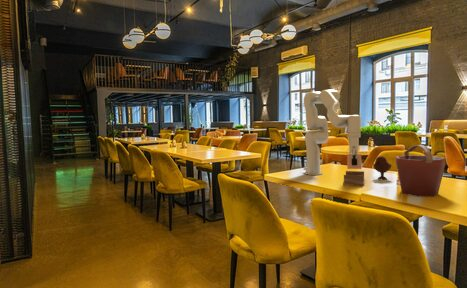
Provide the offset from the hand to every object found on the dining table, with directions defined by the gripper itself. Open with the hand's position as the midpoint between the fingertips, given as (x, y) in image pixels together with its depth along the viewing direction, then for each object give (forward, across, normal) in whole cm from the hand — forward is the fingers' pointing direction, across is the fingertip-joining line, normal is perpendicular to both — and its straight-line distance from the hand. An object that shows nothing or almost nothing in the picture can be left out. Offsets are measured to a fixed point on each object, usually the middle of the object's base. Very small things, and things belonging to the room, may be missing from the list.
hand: (354, 164), depth 200 cm
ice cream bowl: (+12, -19, +16) cm, 27 cm away
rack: (+11, 0, 0) cm, 11 cm away
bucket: (+12, +20, +33) cm, 40 cm away
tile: (+3, 0, 0) cm, 3 cm away
